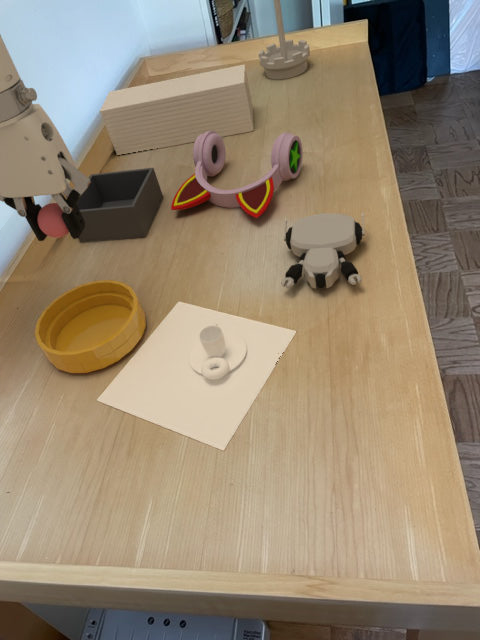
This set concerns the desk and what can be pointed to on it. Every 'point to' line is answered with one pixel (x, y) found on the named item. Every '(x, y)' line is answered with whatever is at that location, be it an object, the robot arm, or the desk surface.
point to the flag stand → (284, 53)
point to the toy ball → (52, 221)
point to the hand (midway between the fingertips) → (62, 232)
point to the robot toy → (323, 249)
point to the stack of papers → (179, 110)
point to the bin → (119, 205)
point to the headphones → (249, 197)
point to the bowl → (91, 326)
